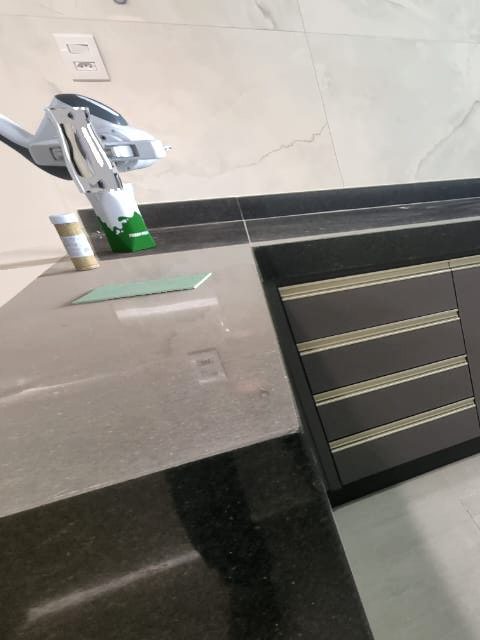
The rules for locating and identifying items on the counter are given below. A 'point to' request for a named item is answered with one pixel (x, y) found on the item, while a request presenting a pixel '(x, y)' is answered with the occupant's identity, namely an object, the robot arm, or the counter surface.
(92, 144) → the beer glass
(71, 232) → the sprinkles bottle
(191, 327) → the counter surface
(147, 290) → the drying mat
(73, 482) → the counter surface
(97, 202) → the milk carton
